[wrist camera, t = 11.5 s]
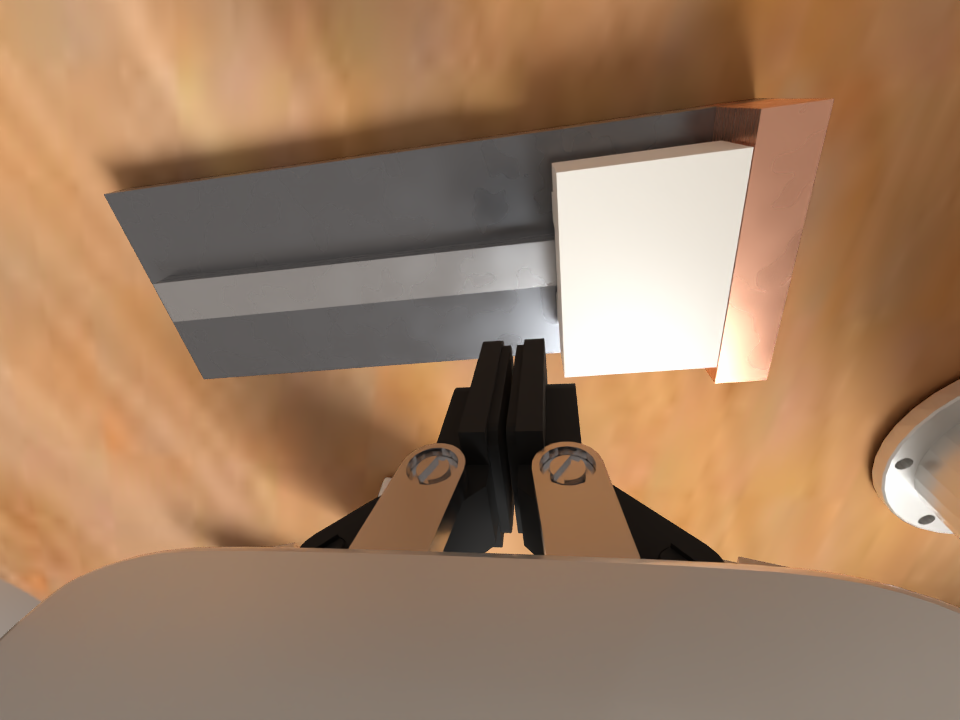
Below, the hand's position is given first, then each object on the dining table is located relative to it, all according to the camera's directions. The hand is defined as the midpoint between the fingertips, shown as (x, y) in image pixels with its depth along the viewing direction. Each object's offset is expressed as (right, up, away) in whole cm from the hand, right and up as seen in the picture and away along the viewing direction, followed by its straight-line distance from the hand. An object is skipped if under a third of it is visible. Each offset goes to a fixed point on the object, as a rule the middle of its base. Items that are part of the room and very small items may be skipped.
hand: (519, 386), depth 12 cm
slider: (+5, +5, +7) cm, 10 cm away
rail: (-3, +6, +9) cm, 12 cm away
